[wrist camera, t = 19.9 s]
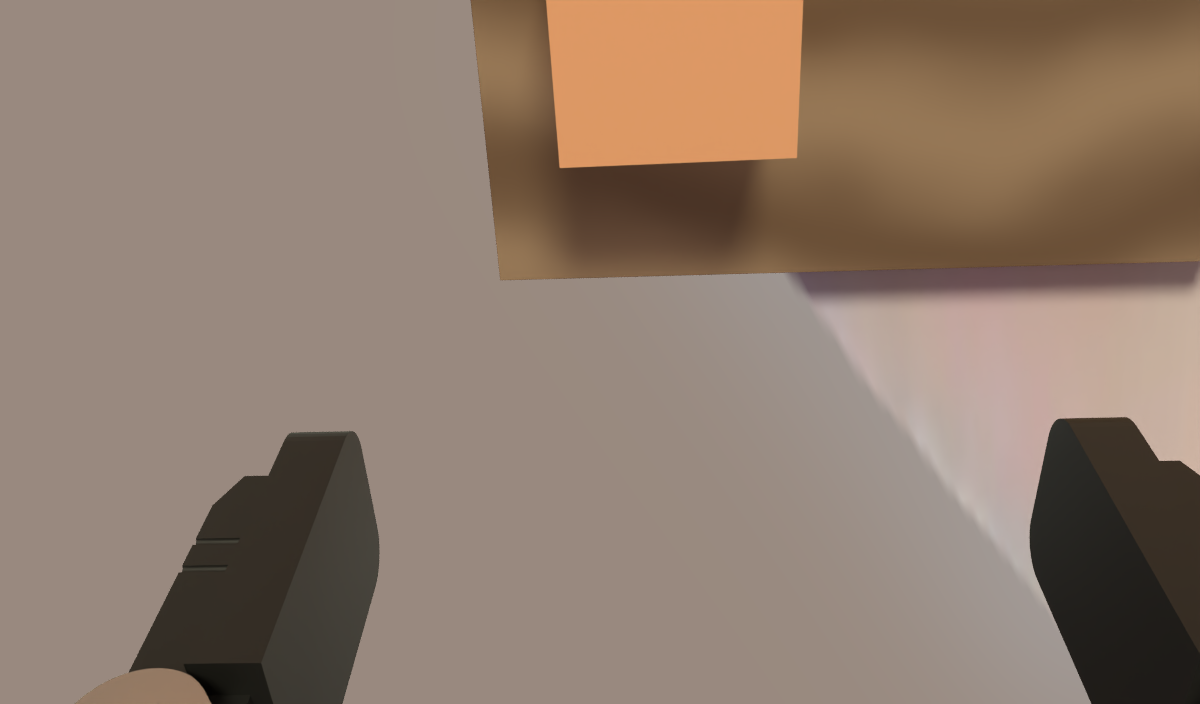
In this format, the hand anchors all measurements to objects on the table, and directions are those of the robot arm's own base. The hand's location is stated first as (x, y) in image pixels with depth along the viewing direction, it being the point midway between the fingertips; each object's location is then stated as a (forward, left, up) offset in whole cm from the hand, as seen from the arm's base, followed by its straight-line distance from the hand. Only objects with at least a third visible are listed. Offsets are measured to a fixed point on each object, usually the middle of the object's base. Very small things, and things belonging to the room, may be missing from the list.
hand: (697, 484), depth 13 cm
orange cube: (0, 0, -22) cm, 22 cm away
